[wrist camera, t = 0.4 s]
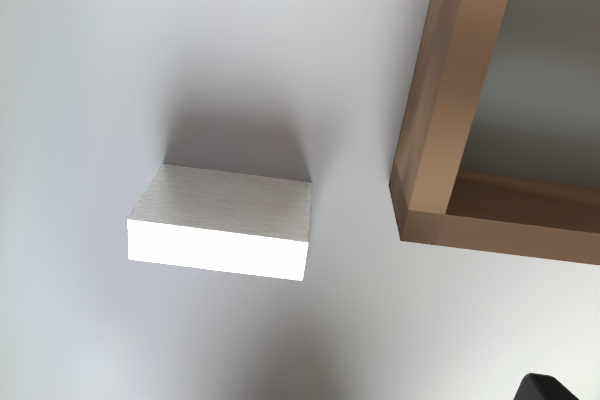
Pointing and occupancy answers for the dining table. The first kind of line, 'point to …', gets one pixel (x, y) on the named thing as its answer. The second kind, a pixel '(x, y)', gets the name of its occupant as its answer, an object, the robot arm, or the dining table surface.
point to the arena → (504, 130)
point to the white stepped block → (223, 222)
